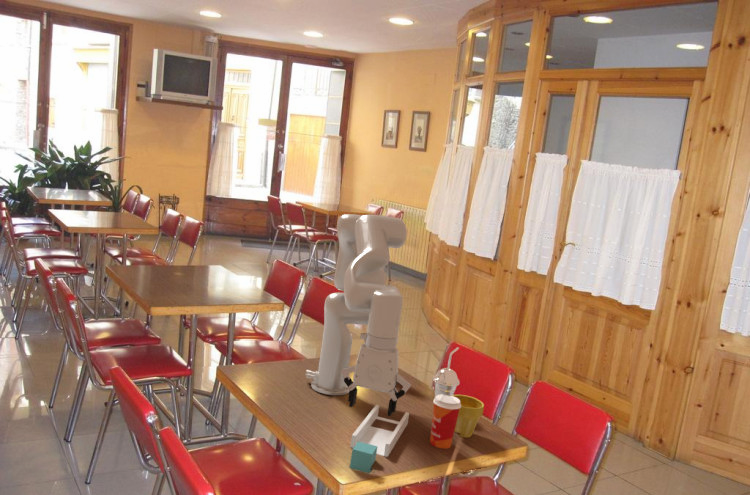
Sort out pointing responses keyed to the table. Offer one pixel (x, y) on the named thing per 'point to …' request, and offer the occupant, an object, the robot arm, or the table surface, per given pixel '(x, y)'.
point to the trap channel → (379, 433)
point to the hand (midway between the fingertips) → (371, 409)
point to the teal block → (363, 457)
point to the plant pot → (468, 415)
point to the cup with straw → (446, 379)
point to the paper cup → (444, 420)
